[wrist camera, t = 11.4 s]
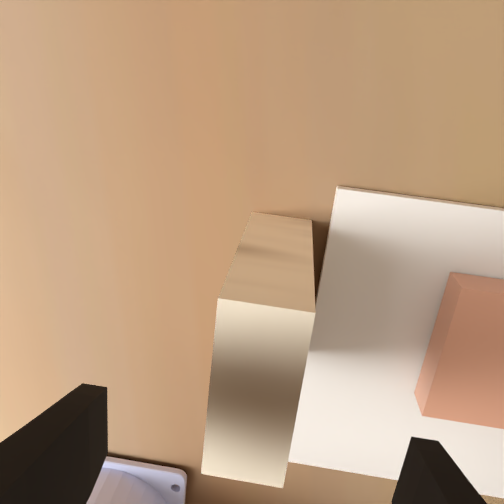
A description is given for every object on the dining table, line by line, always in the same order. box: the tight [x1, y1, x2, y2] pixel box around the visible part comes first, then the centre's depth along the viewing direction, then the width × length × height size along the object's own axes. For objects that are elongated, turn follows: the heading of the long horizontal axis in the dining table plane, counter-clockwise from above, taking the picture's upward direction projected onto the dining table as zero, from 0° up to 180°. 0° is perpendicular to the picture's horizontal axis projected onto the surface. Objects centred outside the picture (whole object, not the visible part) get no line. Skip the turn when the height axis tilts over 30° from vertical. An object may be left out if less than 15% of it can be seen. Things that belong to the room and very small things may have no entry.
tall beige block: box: [201, 212, 316, 488], centre depth 17 cm, size 6×2×8 cm, turn 174°
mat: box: [288, 186, 504, 498], centre depth 20 cm, size 14×16×1 cm
